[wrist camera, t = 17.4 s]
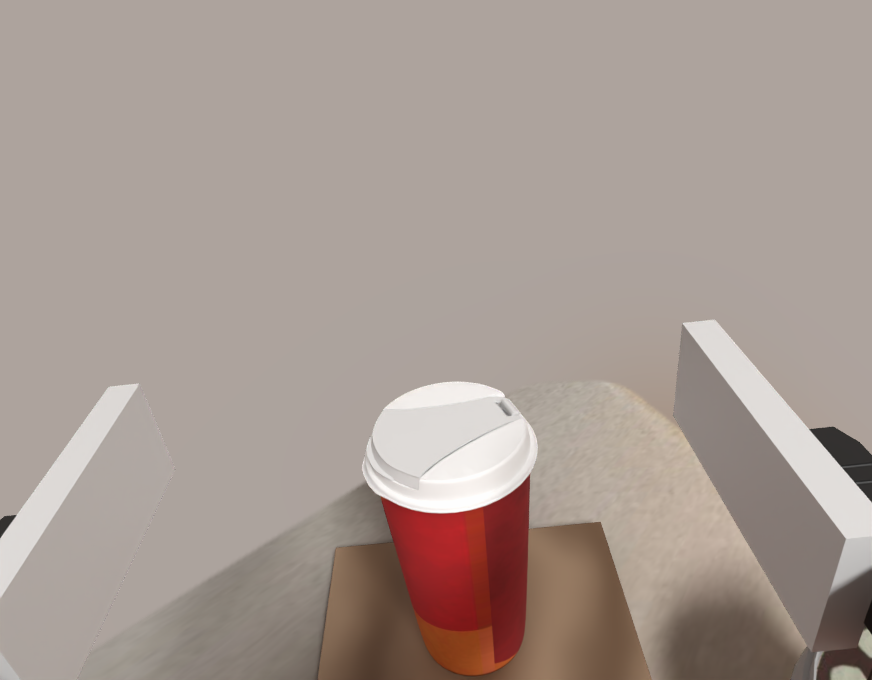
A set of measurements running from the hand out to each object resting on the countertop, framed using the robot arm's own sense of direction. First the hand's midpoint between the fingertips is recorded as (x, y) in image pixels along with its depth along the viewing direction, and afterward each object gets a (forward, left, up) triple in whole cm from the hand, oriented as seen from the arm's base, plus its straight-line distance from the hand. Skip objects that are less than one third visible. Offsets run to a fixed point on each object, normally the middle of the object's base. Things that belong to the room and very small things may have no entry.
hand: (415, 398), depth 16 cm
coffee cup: (0, +11, -25) cm, 27 cm away
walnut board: (0, +11, -26) cm, 28 cm away
